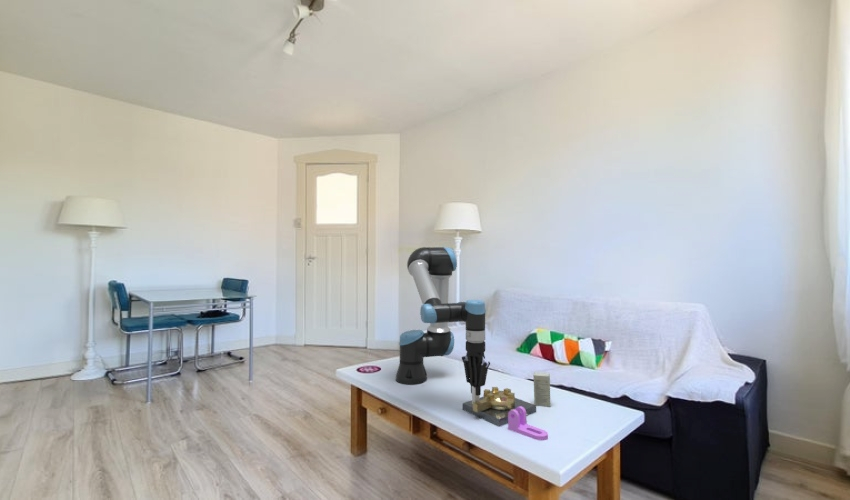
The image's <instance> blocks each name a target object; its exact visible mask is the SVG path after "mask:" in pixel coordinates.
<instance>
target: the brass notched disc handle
mask: <svg viewBox="0 0 850 500" xmlns="http://www.w3.org/2000/svg"><path fill="white" fill-rule="evenodd" d="M515 394H516V393H515V392H512V389H511V388H507V387H506V388H503V390H499V388H498V386H492V387H491V390H490V389H488V388H485V389H484V390H483V396H482V397H483V400H480V401H477V402H473V411H475V412H480V411H483V410H486V409H489V408H493V409H499V410H505V409H511V408H513V407H514V406H515V398H516V395H515Z"/></svg>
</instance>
